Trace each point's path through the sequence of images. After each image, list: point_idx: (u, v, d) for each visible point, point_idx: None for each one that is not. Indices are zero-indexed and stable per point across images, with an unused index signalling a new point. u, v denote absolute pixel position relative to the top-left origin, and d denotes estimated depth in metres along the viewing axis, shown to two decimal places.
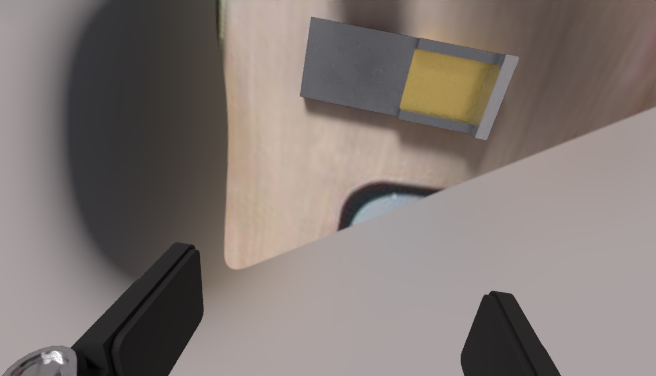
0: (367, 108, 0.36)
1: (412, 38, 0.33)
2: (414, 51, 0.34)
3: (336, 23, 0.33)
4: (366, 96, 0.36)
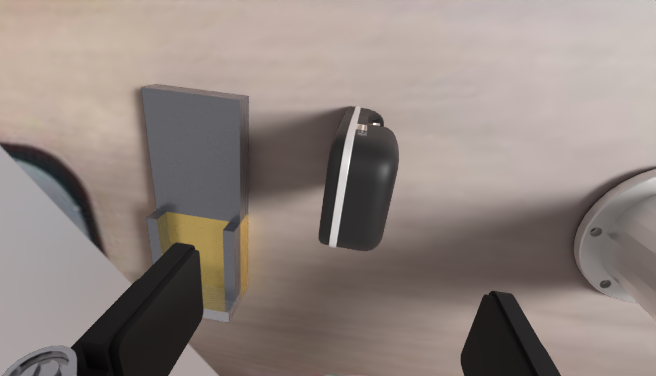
0: (154, 176, 0.29)
1: (238, 218, 0.30)
2: (226, 221, 0.30)
3: (237, 133, 0.26)
4: (167, 174, 0.29)
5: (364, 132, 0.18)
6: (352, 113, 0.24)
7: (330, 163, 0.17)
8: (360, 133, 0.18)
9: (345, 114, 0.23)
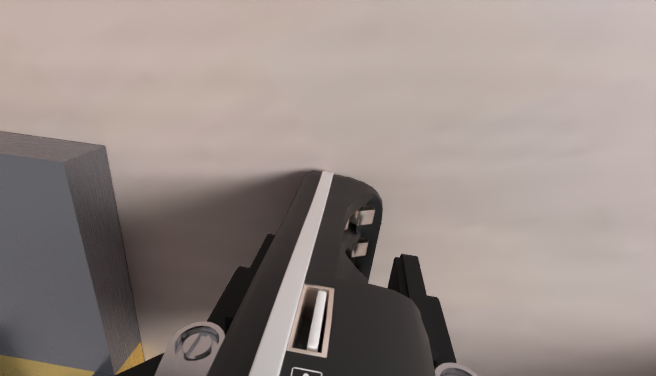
0: None
1: (110, 367, 0.16)
2: (90, 370, 0.16)
3: (75, 227, 0.13)
4: None
5: None
6: (309, 203, 0.10)
7: None
8: None
9: (291, 208, 0.10)
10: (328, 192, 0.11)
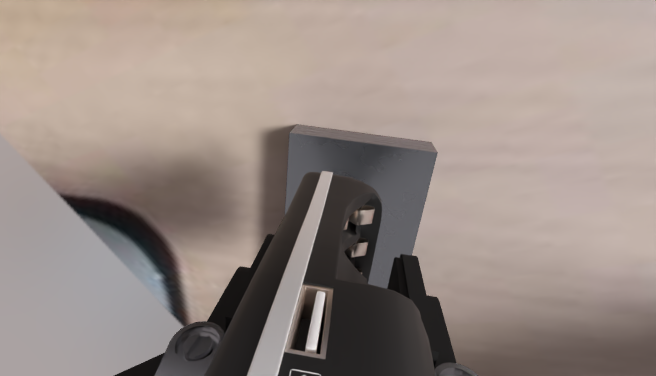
0: None
1: None
2: None
3: (423, 197, 0.19)
4: None
5: None
6: (308, 203, 0.10)
7: None
8: None
9: (290, 208, 0.10)
10: (327, 192, 0.11)
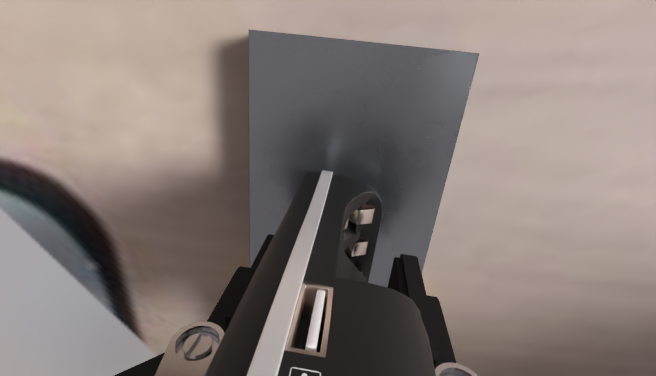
0: (253, 218, 0.15)
1: None
2: None
3: (455, 129, 0.12)
4: (281, 214, 0.15)
5: None
6: (308, 203, 0.10)
7: None
8: None
9: (290, 207, 0.10)
10: (327, 191, 0.11)
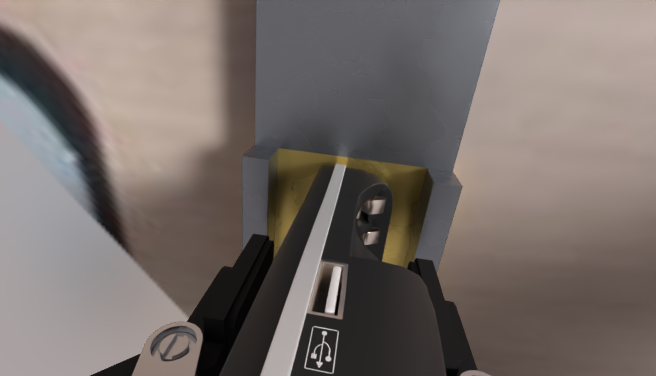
0: (260, 57, 0.12)
1: (452, 158, 0.13)
2: (420, 166, 0.13)
3: None
4: (294, 49, 0.12)
5: (332, 338, 0.05)
6: (323, 193, 0.11)
7: None
8: (316, 352, 0.05)
9: (307, 197, 0.10)
10: (341, 183, 0.11)
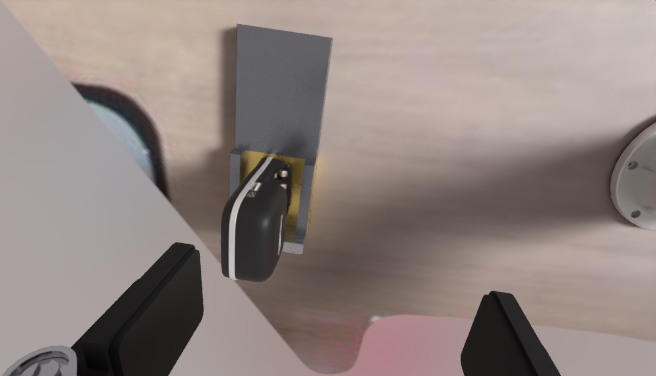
0: (237, 114, 0.31)
1: (315, 155, 0.32)
2: (303, 158, 0.32)
3: (325, 70, 0.29)
4: (250, 112, 0.31)
5: (254, 193, 0.24)
6: (260, 166, 0.30)
7: (222, 221, 0.23)
8: (250, 194, 0.24)
9: (254, 168, 0.29)
10: (268, 163, 0.30)
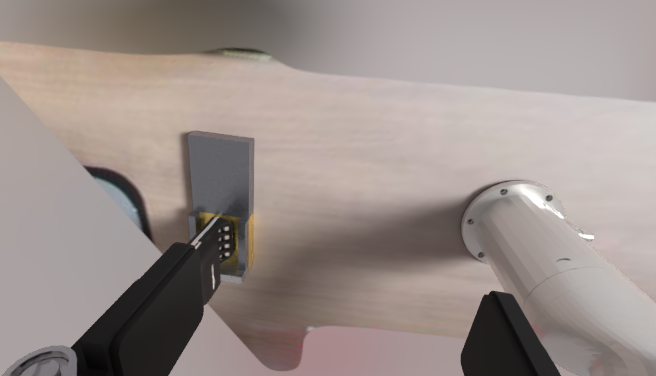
0: (192, 189, 0.45)
1: (247, 215, 0.46)
2: (239, 217, 0.46)
3: (247, 162, 0.42)
4: (201, 187, 0.45)
5: None
6: (207, 226, 0.43)
7: None
8: None
9: None
10: (213, 223, 0.44)
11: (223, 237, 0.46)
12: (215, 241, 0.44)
